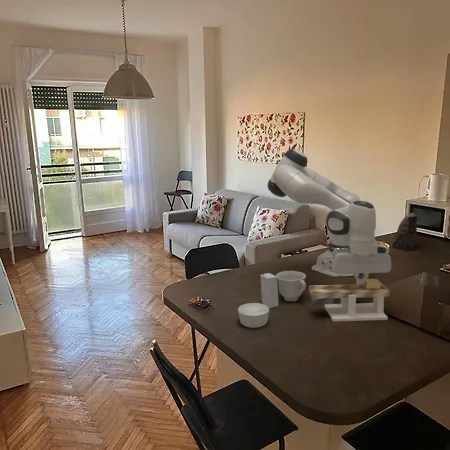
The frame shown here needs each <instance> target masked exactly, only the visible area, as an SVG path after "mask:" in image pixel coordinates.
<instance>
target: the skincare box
mask: <svg viewBox="0 0 450 450" xmlns="http://www.w3.org/2000/svg"><path fill="white" fill-rule="evenodd" d="M259 275H260V287H261V288H260V289H261V290H260V291H261V304H264V305H266V306H268V308H269V309H272V308H278V307H279V286H278V279H277V277H276V275H274V274H272V273H270V272H268V273H262V274H259Z"/></svg>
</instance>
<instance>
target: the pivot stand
mask: <svg viewBox="0 0 450 450" xmlns="http://www.w3.org/2000/svg"><path fill="white" fill-rule="evenodd" d="M384 304H385V297H372V302H365V303H364V302H359V303H357V298H356V295H348V298H340V303H333V304H324V308H325V311H326V312H327V314H328V315H329V317H330V319H331V321H332V322H356V321H357V322H359V321H386V320H387V321H388V318H389V317H388V315H387V314H386V313H385V312H384V309H385V308H384V307H385V305H384Z"/></svg>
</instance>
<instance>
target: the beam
mask: <svg viewBox="0 0 450 450" xmlns="http://www.w3.org/2000/svg"><path fill="white" fill-rule="evenodd" d="M308 293H309V295H310V300H311V302H312V304H313V305H327V304H334V299H341V298H348V295H356V299H358V298H359V299H360V298H373V297H384V298H388V297H390V289H389V288H388V287H386V285H385V284H384V283H381V287H380V289H379V290H364V289H363V288H362V285H357V284H353V283H352V284H328V285H327V284H325V285H323V284H319V285H314V284H313V285H308Z"/></svg>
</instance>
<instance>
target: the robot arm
mask: <svg viewBox="0 0 450 450" xmlns="http://www.w3.org/2000/svg"><path fill="white" fill-rule="evenodd" d="M308 162H309V161H308V156H306V155H305V153H304V152H303V151H301V150H299V149H296V148H288V149H287V150H286V152H285V153H284V155H283V156H282V158H281V159H280V161H278V163H277V165H276V167H275V169H274V171H273V173H272V175H271V177H270V179H269V180H268V182H267V186H266V187H267V190H268V191H269V192H270V193H271V194H272V195H273V196H275V197H277V198H278V197H279V198H285V197H288V198H289V199H290V200H292V201H294V202H296V203H298V204H304V205H305V204H308V205H309V204H311V205H321V206H324V207H326V208H329V209H330V210H331V211H330V212H328V213H327V215H326V217H325V225H326V228H327V230H328V231H329V233H331V242H329V243H328V244H327V245H326V248H328V249H327V250H326V251H325V252H323V253H321V254H320V255H318V257H317V259H316V264H314V265H312V267H311V270H312V271H314V270H315V272H317V271H318V273H320V274H324V275H327V276H330V277H332V278H333V277H337V278H338V277H353V276H354V278H355V280H356V281H355V283H356V284H357V285H365V280H366V279H369V276H370V275H369V274H383V273H387V274H388V273H389V272H391V270H392V259H391V255H390V254H389V253H390V248H389V246H387V245H386V244H384V243H382V242H376V236H375V231H376V228H377V222H376V221H377V213H376V208H375V206H374V204H372V202H369V201H365V200H361V199H360V197H359V196H358V195H357V194H356V193H353V192H350V191H349V190H347V189H344V188H342V187H341V186H339V185H338V184H336V183H334V182H333V181H331V180H330V179H328V178H326V177H325V176H323V175H321V174H319V173H318V172H316V171H314V170H313V169H311V168H308V165H307V164H308ZM360 274H363V276H362V278H359V276H360Z"/></svg>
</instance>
